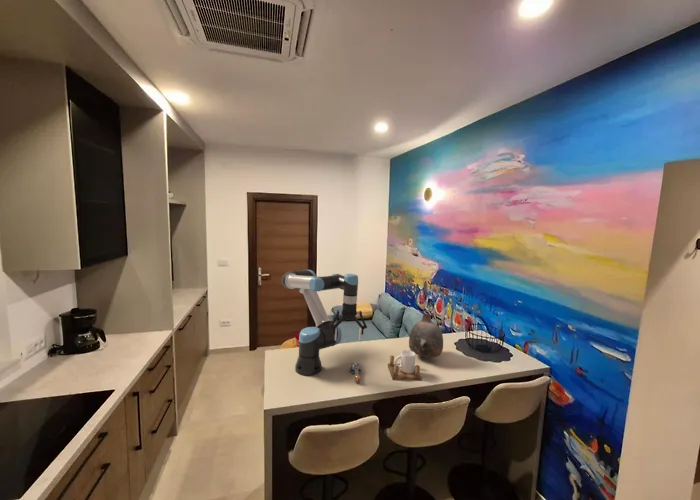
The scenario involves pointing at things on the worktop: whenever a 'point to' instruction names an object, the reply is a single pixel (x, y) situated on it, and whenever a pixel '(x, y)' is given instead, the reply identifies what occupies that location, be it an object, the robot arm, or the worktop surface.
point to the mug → (406, 361)
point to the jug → (426, 338)
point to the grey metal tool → (356, 370)
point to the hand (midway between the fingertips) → (347, 339)
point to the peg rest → (400, 375)
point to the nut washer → (354, 372)
